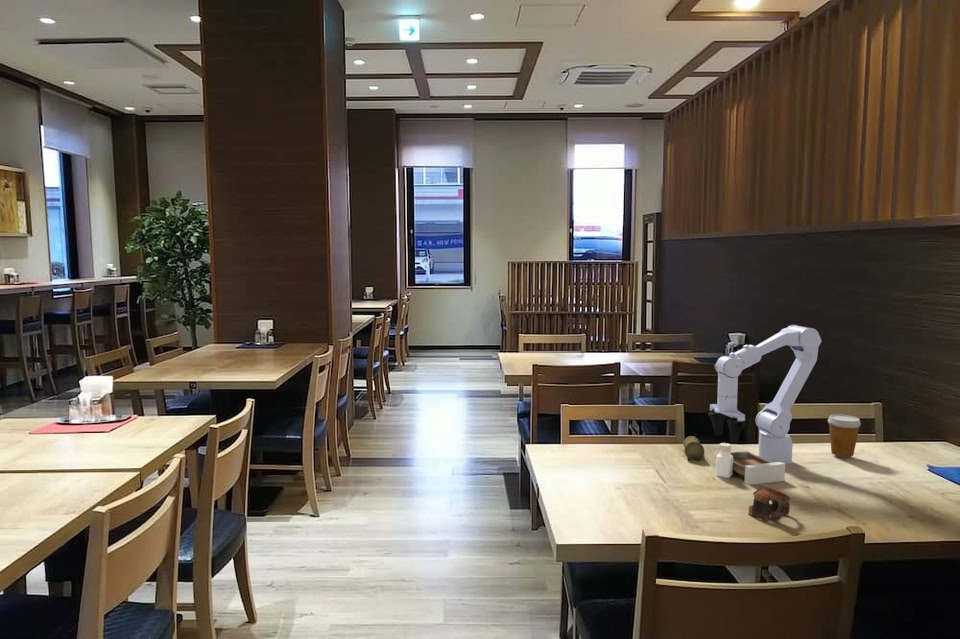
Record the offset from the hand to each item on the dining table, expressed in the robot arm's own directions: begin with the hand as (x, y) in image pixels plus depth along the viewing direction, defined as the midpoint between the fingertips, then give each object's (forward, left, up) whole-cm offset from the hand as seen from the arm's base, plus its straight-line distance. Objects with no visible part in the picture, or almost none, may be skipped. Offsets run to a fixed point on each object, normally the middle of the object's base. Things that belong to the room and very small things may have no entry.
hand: (726, 438), depth 205 cm
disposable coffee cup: (-42, +3, -8) cm, 43 cm away
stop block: (0, +18, -8) cm, 20 cm away
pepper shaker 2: (+8, +11, -8) cm, 16 cm away
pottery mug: (+18, +40, -9) cm, 45 cm away
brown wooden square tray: (0, +10, -8) cm, 13 cm away
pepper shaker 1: (+8, -4, -5) cm, 10 cm away
